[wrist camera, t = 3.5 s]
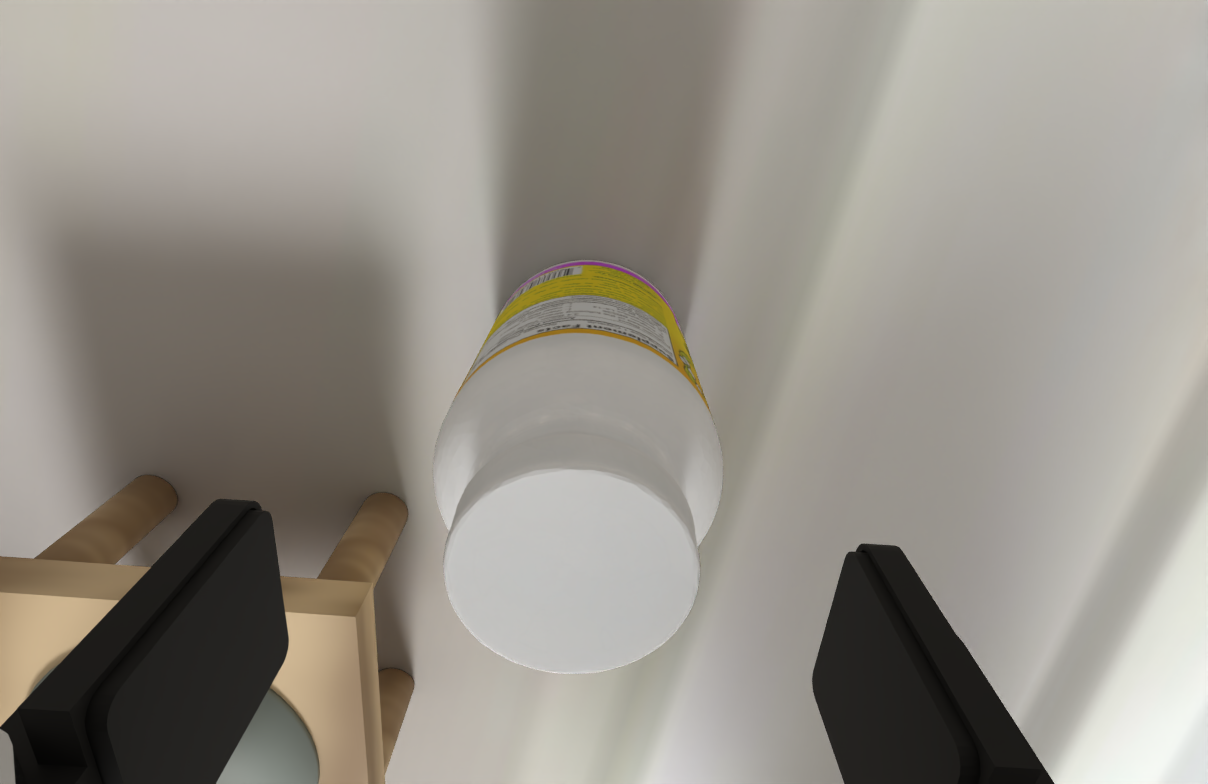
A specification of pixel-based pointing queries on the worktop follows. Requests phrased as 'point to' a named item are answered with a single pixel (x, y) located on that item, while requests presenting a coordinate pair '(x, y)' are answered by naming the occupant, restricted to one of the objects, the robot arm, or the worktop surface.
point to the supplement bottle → (578, 474)
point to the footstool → (314, 621)
